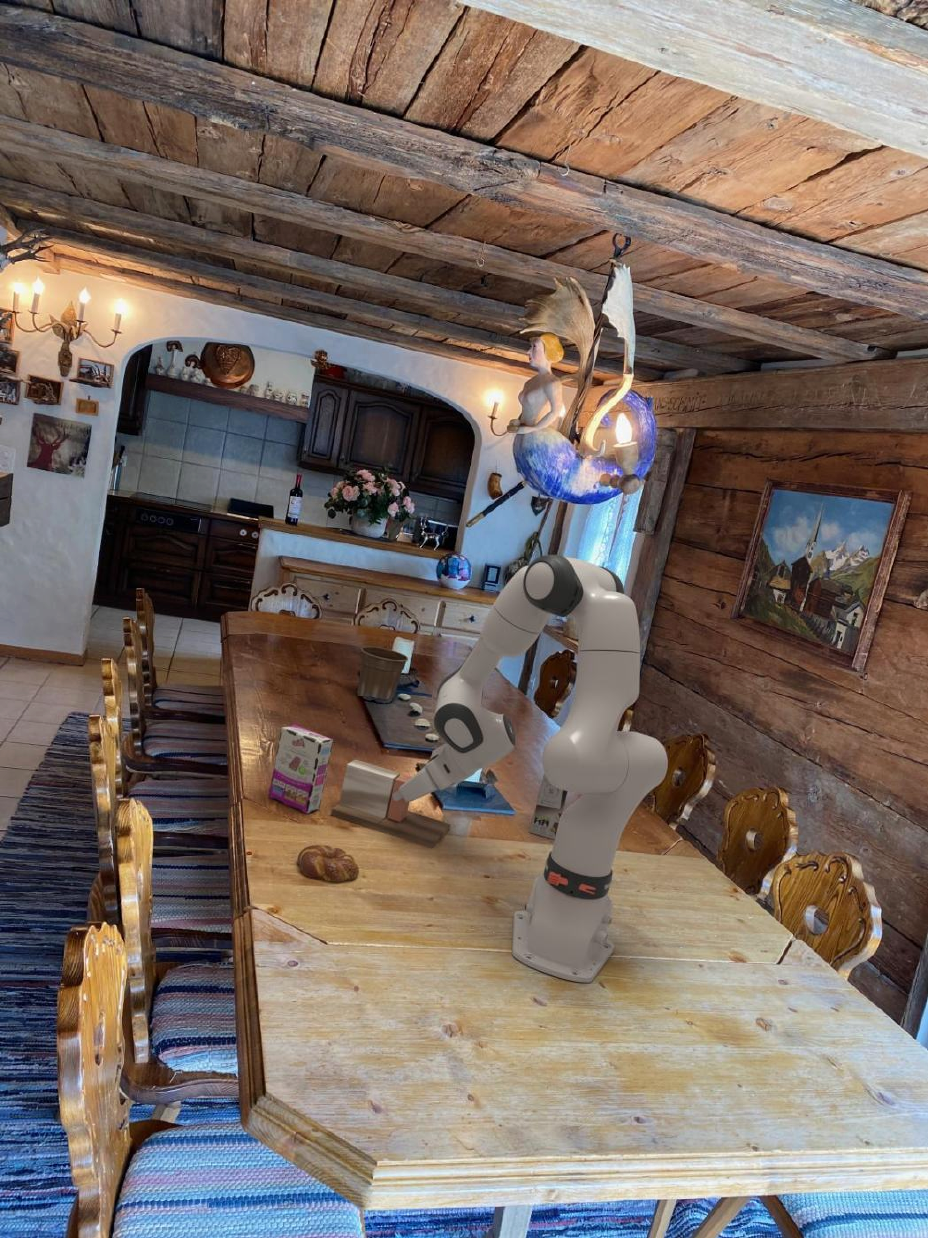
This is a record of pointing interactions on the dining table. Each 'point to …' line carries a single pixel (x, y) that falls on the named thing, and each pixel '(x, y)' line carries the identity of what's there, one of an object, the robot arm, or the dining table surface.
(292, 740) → the candy bar box
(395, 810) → the stub
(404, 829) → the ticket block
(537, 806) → the coffee box
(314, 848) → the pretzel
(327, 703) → the dining table surface
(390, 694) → the plant pot
